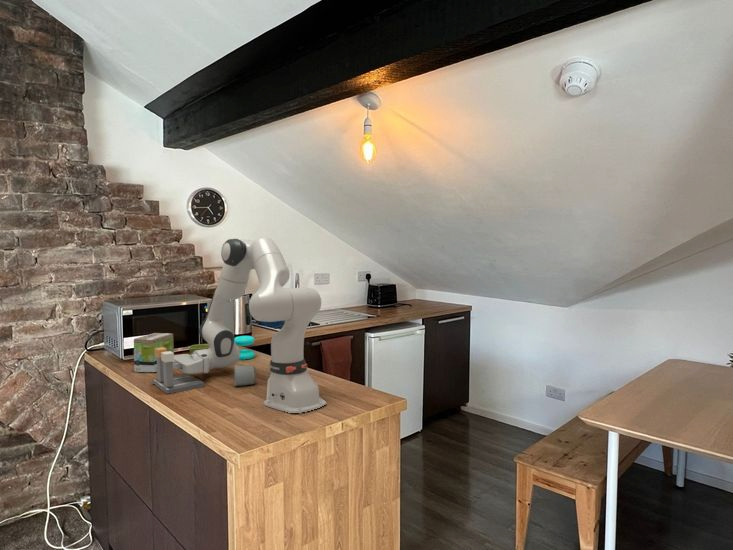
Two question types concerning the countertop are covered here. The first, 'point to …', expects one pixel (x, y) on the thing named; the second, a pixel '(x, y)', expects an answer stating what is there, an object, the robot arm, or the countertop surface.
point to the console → (180, 383)
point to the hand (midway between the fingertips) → (164, 366)
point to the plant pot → (198, 347)
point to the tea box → (150, 350)
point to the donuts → (244, 342)
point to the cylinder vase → (227, 316)
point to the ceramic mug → (244, 375)
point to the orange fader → (160, 363)
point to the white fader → (168, 368)
